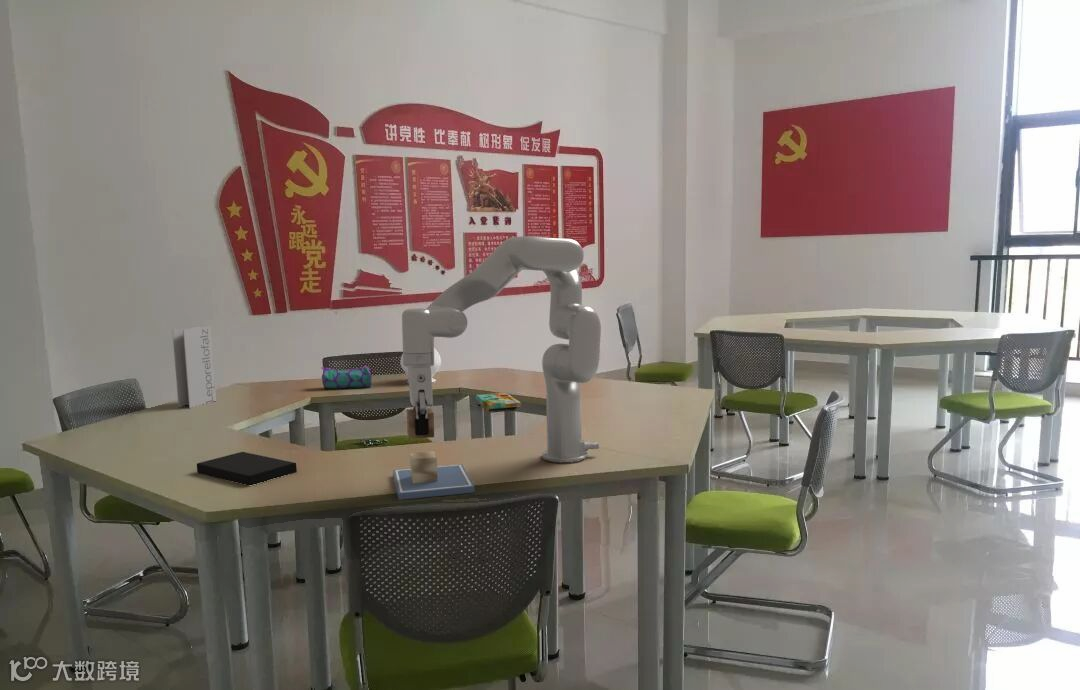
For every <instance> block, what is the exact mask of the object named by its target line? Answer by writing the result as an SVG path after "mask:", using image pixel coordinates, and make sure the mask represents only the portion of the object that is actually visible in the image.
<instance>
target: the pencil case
mask: <svg viewBox="0 0 1080 690" xmlns="http://www.w3.org/2000/svg"><path fill="white" fill-rule="evenodd" d="M321 369H322V370H323V371H322V374H321V381H322V385H323V388H324V389H325V388H328V389H333V388H335V389H363V388H371V387H372V375H373V370H372V369H371V368H370V367H369V366H367V365H364V366H361V367H359V368H350V369H344V370H339V369H333V368H330V367H324V366H322V367H321Z"/></svg>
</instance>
